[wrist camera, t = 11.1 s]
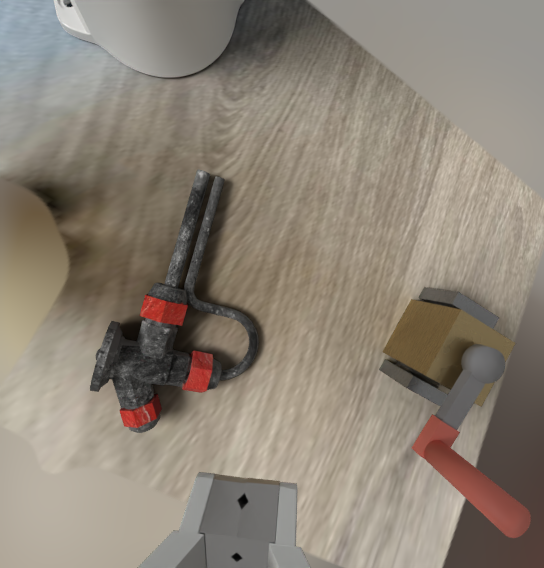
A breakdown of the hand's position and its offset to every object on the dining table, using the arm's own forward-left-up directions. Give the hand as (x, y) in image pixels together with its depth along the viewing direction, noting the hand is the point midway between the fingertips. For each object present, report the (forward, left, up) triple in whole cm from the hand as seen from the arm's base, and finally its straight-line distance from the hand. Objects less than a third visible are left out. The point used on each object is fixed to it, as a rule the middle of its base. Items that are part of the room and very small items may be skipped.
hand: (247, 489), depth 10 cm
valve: (-3, -2, -26) cm, 27 cm away
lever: (+13, +17, -17) cm, 28 cm away
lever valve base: (+10, +21, -26) cm, 35 cm away
